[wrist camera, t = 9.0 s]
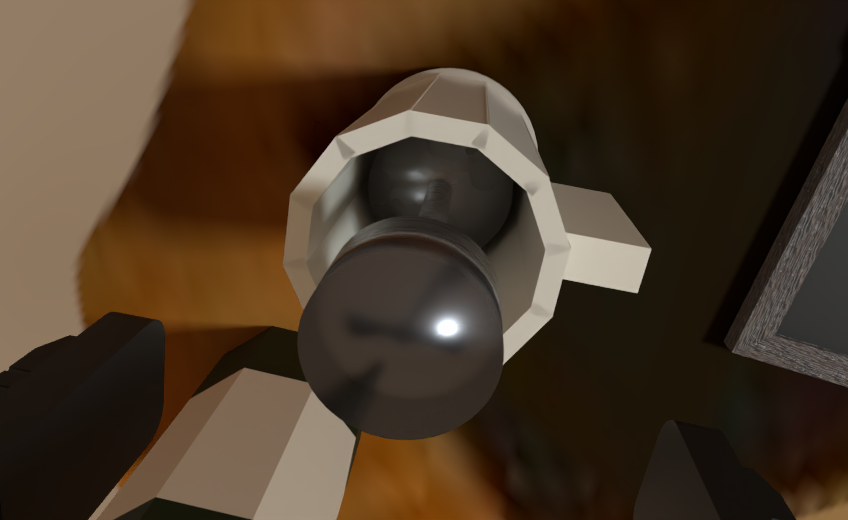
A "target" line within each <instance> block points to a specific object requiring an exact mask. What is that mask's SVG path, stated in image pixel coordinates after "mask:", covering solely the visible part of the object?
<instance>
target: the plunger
mask: <svg viewBox="0 0 848 520" xmlns="http://www.w3.org/2000/svg"><path fill="white" fill-rule="evenodd" d="M368 196H369V201H370V206H371V209H372V212H373V215H374V217H375V219H376V221H377V222H376V223H373V224H371V225H369V226H367V227H365V228H364V229H362V230H360V231H359V232H358V233H356V234H355V235H354V236H353V237H351V238H350V239H349V240H348V241H347V243H346V244H345V245H344V246H343V247H342V249H341V250H340V251H339V253H338V254H337V256H336V257H335V259H334V260H333V262H332V264H331V265H330V267H329V268H328V270H327V272H326V273H325V275H324V276H323V278H322V280H321V281H320V283H319V284H318V286H317V288H316V289H315V291H314V292H313V294H312V296H311V297H310V299H309V301H308V303H307V305H306V306H305V308H304V311H303V314H302V317H301V319H300V324H299V329H298V342H297V345H298V355H299V360H300V364H301V368H302V371H303V373H304V376H305V378H306V380H307V382H308V384H309V386H310V387H311V389H312V391H313V392H314V394H315V395H316V396H317V398H318V399H319V400H320V401H321V402H322V403H323V405H324V406H325V407H326V408H327V409H328V410H329V411H331V412H332V413H333V414H334V415H335V416H337V417H338V418H339V419H341V420H342V421H344V422H345V423H347V424H349V425H351V426H353V427H355V428H356V429H358V430H361V431H363V432H366V433H369V434H371V435H375V436H379V437H383V438H389V439H396V440H415V439H424V438H429V437H434V436H437V435H440V434H444V433H447V432H449V431H451V430H453V429H455V428H457V427H459V426H461V425H462V424H464V423H465V422H467V421H468V420H470V419H471V418H472V417H473V416H474V415H476V414H477V413H478V412H479V411H480V410H481V409H482V408H483V406H484V405H485V404H486V403H487V401H488V400H489V399H490V397H491V396H492V394H493V392H494V390H495V388H496V386H497V384H498V382H499V378H500V375H501V372H502V367H503V361H504V342H503V327H502V312H501V298H500V289H499V283H498V279H497V276H496V273H495V271H494V268H493V266H492V264H491V262H490V260H489V259H488V257H487V255H486V254H485V253H484V252H483V250H482V249H481V247H483V246H484V245H485V244H487V243H488V242H489V241H490V240H491V239H492V238H493V237H494V236H495V235H496V234H497V233H498V232H499V230H500V229H501V227H502V226H503V224H504V222H505V220H506V218H507V216H508V214H509V211H510V207H511V203H512V197H513V182H512V178H511V177H510V176H508V175H507V174H506V173H505V172H504V171H503V170H501V169H500V168H499V167H498V166H497V165H496V164H495V163H493V162H492V161H491V160H490V159H489V158H488V157H486V156H485V155H484V154H483V153H482V152H481V151H480V150H478V149H477V148H472V147H467V146H462V145H456V144H451V143H446V142H440V141H435V140H430V139H424V138H419V137H414V136H411V137H408V138H405V139H402V140H399V141H397V142H394V143H391V144H388V145H386V146H383V147H381V148H380V150H379V151H378V153H377V155H376V157H375V159H374V161H373V163H372V166H371V169H370V174H369V180H368Z"/></svg>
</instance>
